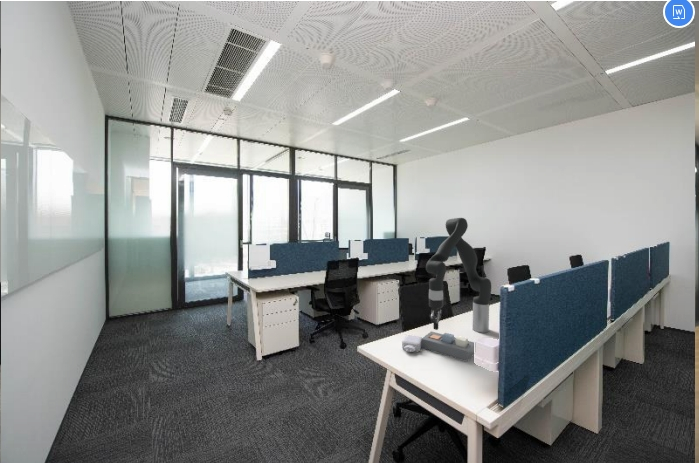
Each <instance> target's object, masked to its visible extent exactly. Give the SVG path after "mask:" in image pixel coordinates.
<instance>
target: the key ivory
mask: <svg viewBox="0 0 699 463" xmlns="http://www.w3.org/2000/svg"><path fill="white" fill-rule="evenodd" d="M455 338H456V345H457V346H461V347H464V348H466V347H467V346H468V341H469V340H468V339H469V338H468V337H465V336H459V335H458V336H456V337H455Z"/></svg>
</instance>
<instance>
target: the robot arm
mask: <svg viewBox="0 0 699 463" xmlns="http://www.w3.org/2000/svg"><path fill="white" fill-rule="evenodd" d="M468 227H469V225H468V222H467V219H466V218H465V217H455V218H449V219H447V220H446V221H445V229H446V231H447V232H446V233H447V234H448V235H449V236H448V237H447V238H446V239H445V240H444V241H442V243H440V245H439V247H438V249H437V250H436V252H435V254H434V255H432V256H431V258H429V260H428V261H427V262H426V265H425V270H426V272H427V273H428V274H431V275H432V274H433V275H436V276H435V277H432V278H430V279H429V280H428V282H429V283H428V286H429V287H428V288H429V289H428V307H430V308H431V310H430V313H431V314H429V315H428V316H429V319H430V321H431V323H432V324H433V330H435V331H438V330H439V323H440V321H441V318H442V316H443V315H442V313H443V309H442V308H443V307H444V288H443V287H444V279H445V275H446V272H447V265H446V263H445V262H447V261H448V259H449V257H450V256H451V254H452V251H453V250H454V248H455V249H456V251H457V253H458V254H457V255H458V256H459V259H460V261H461V263H462V265H463V268H464V270H465V273H466V276H467V279H468V283H469V284H470V285H469V286H470V288H471V290H473V291H475V292H478V293H479V295H478V296H477V295H476V296H474V297H473V298H472V330H473V331H474V332H477V333H483V334H484V333H485V334H486V333H489V330H490V301H491V297H492V281H491V280H490V279H489V278H486V277H482V276H480V275H479V273H478V272H477V265H478V261H479V260H478V256H477V253H476V251H475V249H474V248H473V246H472V245H471V244H469V243H468V242H467V241H466V240H465V239H463V236H464V234H466V231H467V230H468Z"/></svg>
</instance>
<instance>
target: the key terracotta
mask: <svg viewBox="0 0 699 463" xmlns="http://www.w3.org/2000/svg"><path fill="white" fill-rule="evenodd" d="M429 338H431V339H435V340H440V339H441V336H437V335H431V336H430V337H429Z"/></svg>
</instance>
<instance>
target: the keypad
mask: <svg viewBox="0 0 699 463" xmlns="http://www.w3.org/2000/svg"><path fill="white" fill-rule="evenodd" d="M443 334H444V333H440V332H435V331H432V330H431V331H430V332H429V333H427V334H425V335H424V336H423V337H422V339H421V349H424V350H427V351H431V352H433V353H437V354H441V355H444V356H447V357H451V358H454V359H456V360H457V359H458V360H461V361H464V362H468V361H470V359H471V358H472V357H473V356H474V355H475V353H474V341H470V340H468V346H467V347H466V348H464V347H461V346H457V345H456V338H457V337H455V336H454V342H453V343H452V344H450V343H446V342H442V335H443ZM431 335H437V336H441V339H440V340H435V339H431V338H429V337H430V336H431ZM472 355H473V356H472Z"/></svg>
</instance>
